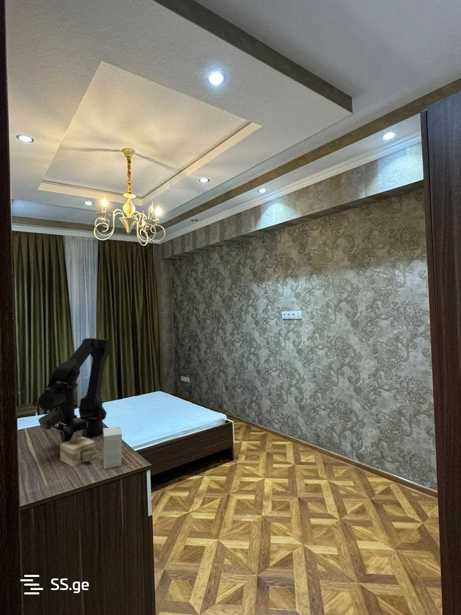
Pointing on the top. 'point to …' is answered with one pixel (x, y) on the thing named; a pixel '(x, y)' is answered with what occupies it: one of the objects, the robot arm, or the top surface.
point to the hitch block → (76, 450)
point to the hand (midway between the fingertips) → (65, 446)
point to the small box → (112, 447)
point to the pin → (86, 455)
